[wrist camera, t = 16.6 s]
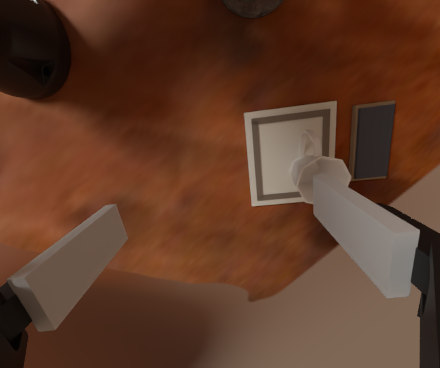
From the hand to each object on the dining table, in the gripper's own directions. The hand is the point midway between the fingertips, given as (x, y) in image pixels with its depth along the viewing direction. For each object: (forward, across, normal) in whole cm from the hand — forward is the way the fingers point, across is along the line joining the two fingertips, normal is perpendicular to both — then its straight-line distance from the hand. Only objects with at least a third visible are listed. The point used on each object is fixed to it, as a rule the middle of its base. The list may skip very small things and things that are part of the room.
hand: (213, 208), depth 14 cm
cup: (+22, +13, -3) cm, 25 cm away
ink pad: (+22, +24, -2) cm, 32 cm away
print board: (+22, +11, -3) cm, 25 cm away
